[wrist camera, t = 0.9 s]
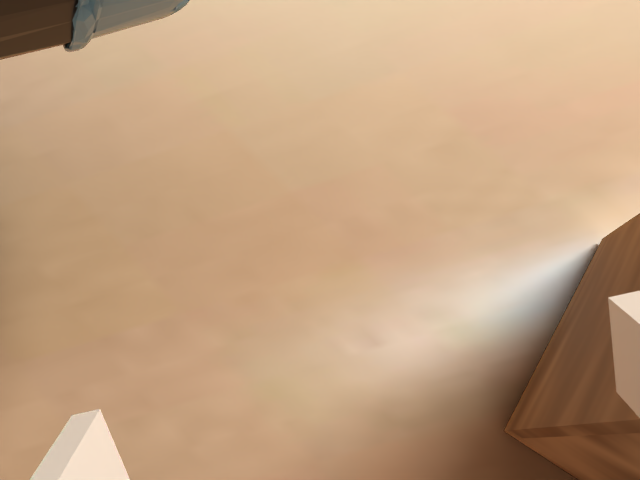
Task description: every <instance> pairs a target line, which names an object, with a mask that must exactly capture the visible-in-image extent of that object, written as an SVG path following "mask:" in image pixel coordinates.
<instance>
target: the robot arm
mask: <svg viewBox="0 0 640 480" xmlns="http://www.w3.org/2000/svg"><path fill="white" fill-rule="evenodd" d="M188 2H189V0H0V60H1V59H5V58H10V57H14V56H18V55H22V54H26V53H30V52H35V51H39V50H43V49H47V48H51V47H55V46H60V45H63V46H64V49H65V50H66V51H68V52H73V51H78V50H80V49H82V48H84V47H85V46H86V45H87V44H88V43H89V42H90V40H91V39H92V38H96V37H99V36H103V35H106V34H110V33H113V32H117V31H120V30H124V29H127V28H131V27H134V26H138V25H141V24H145V23H148V22H152V21H155V20H159V19H162V18H165V17H167V16H170V15H172V14H173V13H175V12H177V11H179V10H180V9H182V8H183V7H184V6H185V5H186V4H187V3H188ZM608 303H609V314H610V325H611V336H612V347H613V359H614V370H615V381H616V392H617V393H618V394H619V395H620V397H621V398H622V399H623V400H624V401H625V402H626V403H627V404H628V406H629V407H630V408H631V409H632V410H633V411H634V412H635V413H636V415H637V416H638V417H639V418H640V291H635V292H631V293H626V294H622V295H617V296H613V297H608ZM30 480H130V479H129V477H128V474H127V472H126V469H125V467H124V465H123V462H122V460H121V458H120V455H119V453H118V451H117V448H116V446H115V443H114V441H113V439H112V436H111V434H110V432H109V429H108V427H107V425H106V422H105V420H104V417H103V415H102V413H101V410H100V409H98V410H93V411H89V412H84V413H79V414H75V415H72V416H71V417H70V419H69V420H68V422H67V423H66V425H65V427H64V428H63V430H62V431H61V433H60V434H59V436H58V437H57V439H56V440H55V442H54V443H53V445H52V446H51V448H50V449H49V451H48V452H47V454H46V456H45V457H44V459H43V460H42V462H41V463H40V465H39V466H38V468H37V469H36V471H35V472H34V474H33V475H32V477H31V478H30Z"/></svg>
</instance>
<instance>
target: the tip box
mask: <svg viewBox="0 0 640 480" xmlns="http://www.w3.org/2000/svg"><path fill="white" fill-rule="evenodd" d="M635 291H640V213H639V214H638V215H636V216H635V217H634V218H632V219H631V220H629V221H628V222H626V223H625V224H623V225H622V226H620V227H619V228H617V229H616V230H615V231H613V232H612V233H610V234H609V235H607V236H606V237H604V238H603V239H602V241H601V243H600V244H599V246H598V248H597V250H596V252H595V254H594V256H593V258H592V260H591V262H590V264H589V266H588V268H587V270H586V272H585V274H584V276H583V278H582V280H581V281H580V283H579V285H578V287H577V289H576V291H575V293H574V295H573V297H572V299H571V301H570V303H569V305H568V307H567V309H566V311H565V313H564V315H563V317H562V318H561V320H560V322H559V324H558V326H557V328H556V330H555V332H554V334H553V336H552V338H551V340H550V342H549V344H548V346H547V348H546V350H545V352H544V354H543V355H542V357H541V359H540V361H539V363H538V365H537V367H536V369H535V371H534V373H533V375H532V377H531V379H530V381H529V383H528V385H527V387H526V389H525V391H524V392H523V394H522V396H521V398H520V400H519V402H518V404H517V406H516V408H515V410H514V412H513V414H512V416H511V418H510V420H509V422H508V424H507V426H506V428H505V429H504V431H505V432H506V433H508V434H509V435H511V436H512V437H514V438H515V439H517V440H518V441H520V442H522V443H523V444H525V445H526V446H528V447H529V448H531V449H532V450H534V451H535V452H537V453H538V454H540V455H541V456H543V457H544V458H546V459H547V460H549V461H551V462H552V463H554V464H555V465H557V466H558V467H560V468H561V469H563V470H564V471H566V472H567V473H569V474H570V475H572V476H573V477H575V478H576V479H578V480H640V418H639V417H638V416H637V415H636V413H635V412H634V411H633V410H632V409H631V408H630V407H629V406H628V404H627V403H626V402H625V401H624V400H623V399H622V398H621V397H620V395H619V394H618V393H617V392H616V381H615V370H614V359H613V347H612V336H611V325H610V314H609V303H608V297H613V296H617V295H622V294H626V293H631V292H635Z"/></svg>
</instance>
